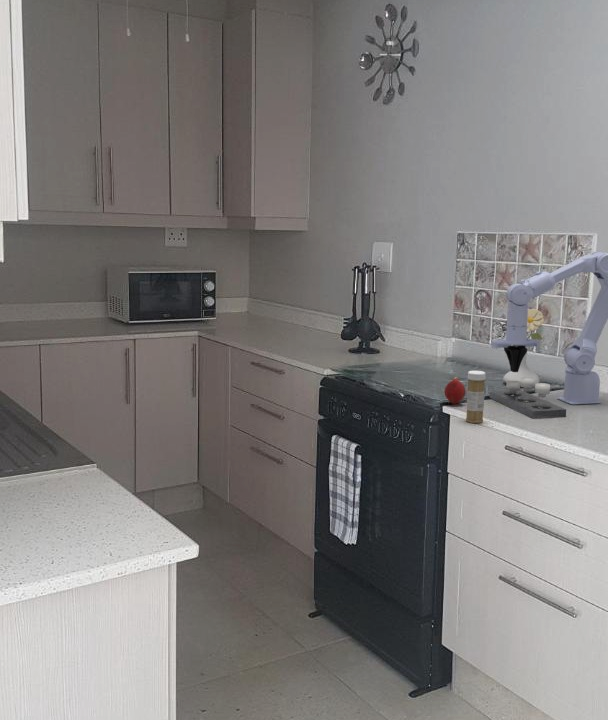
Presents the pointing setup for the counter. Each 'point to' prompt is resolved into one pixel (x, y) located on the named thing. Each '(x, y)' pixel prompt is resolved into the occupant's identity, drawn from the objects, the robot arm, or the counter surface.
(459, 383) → the onion
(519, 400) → the panel
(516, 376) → the flower in vase
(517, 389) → the knob
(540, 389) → the knob
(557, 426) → the counter surface
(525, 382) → the knob mid
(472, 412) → the sprinkles bottle
